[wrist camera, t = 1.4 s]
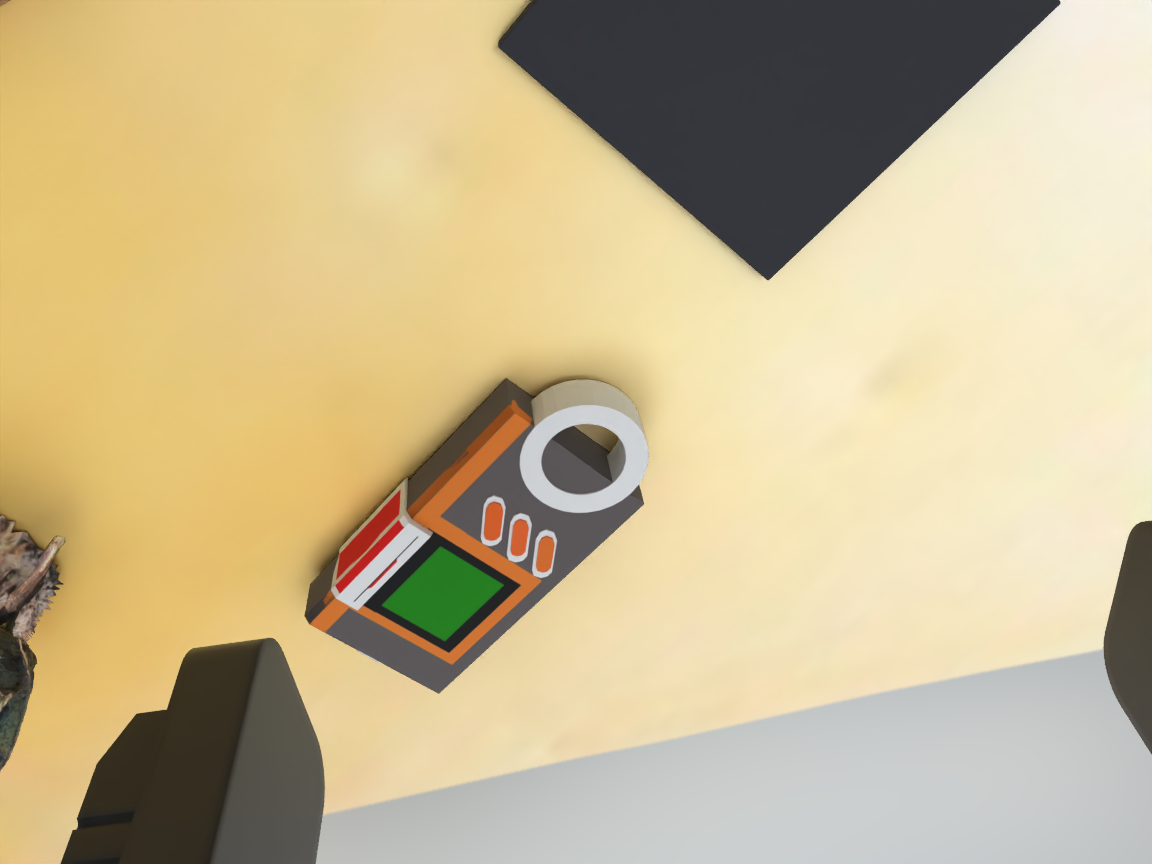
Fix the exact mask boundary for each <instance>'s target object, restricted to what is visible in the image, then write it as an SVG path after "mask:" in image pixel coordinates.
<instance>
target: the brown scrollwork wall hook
mask: <svg viewBox="0 0 1152 864" xmlns="http://www.w3.org/2000/svg"><path fill="white" fill-rule="evenodd" d="M8 1H10V0H0V6H1V5H3V4H4V3H6V2H8Z"/></svg>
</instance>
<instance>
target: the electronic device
mask: <svg viewBox="0 0 1152 864" xmlns="http://www.w3.org/2000/svg"><path fill="white" fill-rule="evenodd" d="M579 424H594V425H599V426H602V427H605V428H607V429H609V430H610V431H612V432H613V433H615V434H616V435H617V436H618V440H617V443H616V445H615V447H614V448H613V450H612V451H611V452H608V451H607V450H605V449H604V448H603V447H601V446H600V445H599V444H597V443H596V442H594V441H593V440H592V439H590V438H589V437H587V436H586V435H585V434H583V433H582V432H580V431H579V430H578V429H576V428H575V427H574V425H579ZM648 457H649V452H648V445H647V441H646V437H645V434H644V430H643V427H642V423H641V420H640V417H639V414H638V412H637V409H636V407H635V406H634V404H633V403H632V401H631V400H630V399H629V398H628V397H627V396H626V395H625V394H624V393H623V392H622V391H620V390H619V389H617V388H615V387H614V386H612V385H609V384H606V383H604V382H601V381H595V380H589V379H585V380H571V381H565V382H562V383H559V384H556V385H554V386H551V387H550V388H548V389H546V390H544V391H543V392H541V393H540V394H539V395H538V396H536V397H535V398H533V397H532V396H530V395H529V394H528V393H526V392H525V391H523V390H522V389H521V388H519V387H518V386H517V385H515V384H514V383H512V382H511V381H510V380H508V379H507V378H506V379H505V380H504V381H503V383H502V384H501V385H500V386H499V387H498V388H497V389H496V390H495V391H494V392H493V393H492V394H491V395H490V396H489V397H488V398H487V399H486V400H485V401H484V402H483V404H482V405H481V406H480V407H479V408H478V409H477V410H476V411H475V412H474V413H473V414H472V415H471V416H470V417H469V418H468V419H467V420H466V421H465V422H464V423H463V425H462V426H461V427H460V428H459V429H458V430H457V431H456V432H455V433H454V434H453V435H452V436H451V437H450V438H449V439H448V440H447V441H446V442H445V443H444V444H443V446H442V447H441V448H440V449H439V450H438V451H437V452H436V453H435V454H434V455H433V456H432V457H431V458H430V459H429V460H428V461H427V462H426V463H425V464H424V465H423V467H422V468H421V469H420V470H419V471H418V472H417V473H416V474H415V475H414V476H413V477H412V478H411V479H410V480H408V478H406V479H405V480H404V481H403V482H402V483H401V484H400V485H399V486H398V487H397V488H396V489H395V490H394V491H393V492H392V493H391V495H390V496H389V497H388V498H387V499H386V500H385V501H384V502H383V503H382V504H381V505H380V506H379V507H378V508H377V509H376V510H375V512H374V513H373V514H372V515H371V516H370V517H369V518H368V519H367V520H366V521H365V522H364V523H363V524H362V525H361V526H360V527H359V529H358V530H357V531H356V532H355V533H354V534H353V535H352V536H351V537H350V538H349V539H348V540H347V541H346V542H345V543H344V544H343V546H342V547H341V548H340V550H339V555H338V556H337V557H336V558H335V559H334V560H333V561H332V562H331V563H330V564H329V565H328V566H327V567H326V568H325V569H324V570H323V571H322V573H321V574H320V575H319V576H318V577H317V578H316V579H315V580H314V581H313V582H312V583H311V584H310V588H309V594H308V600H307V605H306V611H305V617H306V619H307V621H308V623H309V624H310V625H312V626H314V627H315V628H317V629H319V630H321V631H323V632H325V633H327V634H328V635H330V636H332V637H334V638H336V639H338V640H340V641H342V642H343V643H345V644H347V645H349V646H351V647H353V648H355V649H356V650H357V651H358V652H360V653H361V654H363V655H365V656H367V657H369V658H371V659H373V660H375V661H376V662H378V663H383V664H384V665H386V666H388V667H390V668H392V669H394V670H396V671H397V672H399V673H401V674H403V675H405V676H407V677H409V678H411V679H412V680H414V681H416V682H418V683H420V684H422V685H424V686H425V687H427V688H429V689H431V690H433V691H435V692H437V693H440V692H441V691H442V690H443V689H444V688H446V687H447V686H448V685H449V684H450V683H451V682H452V681H453V680H454V679H455V678H456V677H457V676H459V675H460V674H461V673H462V672H463V671H464V670H465V669H466V668H467V667H468V666H469V665H470V664H472V663H473V662H474V661H475V660H476V659H477V658H478V657H479V656H480V655H481V654H482V653H483V652H485V651H486V650H487V649H488V648H489V647H490V646H491V645H492V644H493V643H494V642H495V641H496V640H498V639H499V638H500V637H501V636H502V635H503V634H504V633H505V632H506V631H507V630H508V629H509V628H511V627H512V626H513V625H514V624H515V623H516V622H517V621H518V620H519V619H520V618H521V617H522V616H523V615H525V614H526V613H527V612H528V611H529V610H530V609H531V608H532V607H533V606H534V605H535V604H536V603H538V602H539V601H540V600H541V599H542V598H543V597H544V596H545V595H546V594H547V593H548V592H549V591H551V590H552V589H553V588H554V587H555V586H556V585H557V584H558V583H559V582H560V581H561V580H562V579H564V578H565V577H566V576H567V575H568V574H569V573H570V572H571V571H572V570H573V569H574V568H575V567H577V566H578V565H579V564H580V563H581V562H582V561H583V560H584V559H585V558H586V557H587V556H588V555H590V554H591V553H592V552H593V551H594V550H595V549H596V548H597V547H598V546H599V545H600V544H601V543H602V542H604V541H605V540H606V539H607V538H608V537H609V536H610V535H611V534H612V533H613V532H614V531H615V530H617V529H618V528H619V527H620V526H621V525H622V524H623V523H624V522H625V521H626V520H627V519H628V518H630V517H631V516H632V515H633V514H634V513H635V512H636V511H637V510H638V509H639V508H640V507H641V506H643V505H644V502H643V498H642V494H641V490H640V486H639V483H640V482H641V480H642V478H643V477H644V475H645V472H646V469H647V466H648Z"/></svg>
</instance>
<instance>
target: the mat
mask: <svg viewBox="0 0 1152 864" xmlns="http://www.w3.org/2000/svg"><path fill="white" fill-rule="evenodd" d="M1059 5H1060V1H1059V0H532V1H531V3H530V4H529V5H528V6H527V7H526V9H525V10H524V11H523V12H522V14H521V15H520V16H519V17H518V19H517V20H516V21H515V22H514V24H513V25H512V26H511V27H510V28H509V30H508V31H507V32H506V33H505V35H504V36H503V37H502V38H501V40H500V41H499V43H498V46H499V48H500V49H501V50H502V51H503V52H505V53H506V54H507V55H508V56H509V57H510V58H511V59H513V60H514V61H515V62H516V63H517V64H518V65H520V66H521V67H522V68H523V69H524V70H525V71H526V72H528V73H529V74H530V75H531V76H532V77H533V78H535V79H536V80H537V81H538V82H539V83H540V84H541V85H543V86H544V87H545V88H546V89H547V90H548V91H550V92H551V93H552V94H553V95H554V96H555V97H557V98H558V99H559V100H560V101H561V102H562V103H563V104H565V105H566V106H567V107H568V108H569V109H570V110H572V111H573V112H574V113H575V114H576V115H577V116H578V117H580V118H581V119H582V120H583V121H584V122H585V123H587V124H588V125H589V126H590V127H591V128H592V129H593V130H595V131H596V132H597V133H598V134H599V135H600V136H602V137H603V138H604V139H605V140H606V141H607V142H608V143H610V144H611V145H612V146H613V147H614V148H615V149H617V150H618V151H619V152H620V153H621V154H622V155H624V156H625V157H626V158H627V159H628V160H629V161H630V162H632V163H633V164H634V165H635V166H636V167H637V168H639V169H640V170H641V171H642V172H643V173H644V174H645V175H647V176H648V177H649V178H650V179H651V180H652V181H654V182H655V183H656V184H657V185H658V186H659V187H660V188H662V189H663V190H664V191H665V192H666V193H667V194H669V195H670V196H671V197H672V198H673V199H674V200H676V201H677V202H678V203H679V204H680V205H681V206H682V207H684V208H685V209H686V210H687V211H688V212H689V213H691V214H692V215H693V216H694V217H695V218H696V219H697V220H699V221H700V222H701V223H702V224H703V225H704V226H706V227H707V228H708V229H709V230H710V231H711V232H712V233H714V234H715V235H716V236H717V237H718V238H719V239H721V240H722V241H723V242H724V243H725V244H726V245H728V246H729V247H730V248H731V249H732V250H733V251H734V252H736V253H737V254H738V255H739V256H740V257H741V258H743V259H744V260H745V261H746V262H747V263H748V264H749V265H751V266H752V267H753V268H754V269H755V270H756V271H758V272H759V273H760V274H761V275H762V276H763V277H764V278H766V279H767V280H770V279H771V278H772V277H773V276H774V275H775V274H776V273H777V272H778V271H779V270H780V269H781V268H782V267H783V266H784V265H785V264H786V263H787V262H789V261H790V260H791V259H792V258H793V257H794V256H795V255H796V254H797V253H798V252H799V251H800V250H801V249H802V248H803V247H804V246H805V245H806V244H807V243H809V242H810V241H811V240H812V239H813V238H814V237H815V236H816V235H817V234H818V233H819V232H820V231H821V230H822V229H823V228H824V227H825V226H826V225H828V224H829V223H830V222H831V221H832V220H833V219H834V218H835V217H836V216H837V215H838V214H839V213H840V212H841V211H842V210H843V209H844V208H845V207H847V206H848V205H849V204H850V203H851V202H852V201H853V200H854V199H855V198H856V197H857V196H858V195H859V194H860V193H861V192H862V191H863V190H864V189H866V188H867V187H868V186H869V185H870V184H871V183H872V182H873V181H874V180H875V179H876V178H877V177H878V176H879V175H880V174H881V173H882V172H883V171H884V170H886V169H887V168H888V167H889V166H890V165H891V164H892V163H893V162H894V161H895V160H896V159H897V158H898V157H899V156H900V155H901V154H902V153H903V152H905V151H906V150H907V149H908V148H909V147H910V146H911V145H912V144H913V143H914V142H915V141H916V140H917V139H918V138H919V137H920V136H921V135H922V134H924V133H925V132H926V131H927V130H928V129H929V128H930V127H931V126H932V125H933V124H934V123H935V122H936V121H937V120H938V119H939V118H940V117H941V116H943V115H944V114H945V113H946V112H947V111H948V110H949V109H950V108H951V107H952V106H953V105H954V104H955V103H956V102H957V101H958V100H959V99H960V98H961V97H963V96H964V95H965V94H966V93H967V92H968V91H969V90H970V89H971V88H972V87H973V86H974V85H975V84H976V83H977V82H978V81H979V80H980V79H982V78H983V77H984V76H985V75H986V74H987V73H988V72H989V71H990V70H991V69H992V68H993V67H994V66H995V65H996V64H997V63H998V62H999V61H1001V60H1002V59H1003V58H1004V57H1005V56H1006V55H1007V54H1008V53H1009V52H1010V51H1011V50H1012V49H1013V48H1014V47H1015V46H1016V45H1017V44H1018V43H1020V42H1021V41H1022V40H1023V39H1024V38H1025V37H1026V36H1027V35H1028V34H1029V33H1030V32H1031V31H1032V30H1033V29H1034V28H1035V27H1036V26H1037V25H1039V24H1040V23H1041V22H1042V21H1043V20H1044V19H1045V18H1046V17H1047V16H1048V15H1049V14H1050V13H1051V12H1052V11H1053V10H1054V9H1055V8H1056V7H1057V6H1059Z"/></svg>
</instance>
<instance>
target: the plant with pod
mask: <svg viewBox="0 0 1152 864" xmlns="http://www.w3.org/2000/svg"><path fill="white" fill-rule="evenodd" d="M15 522H16V521H6V519H5V516H4V515H3V516H0V771H1V769H2V768H3V767H4V765H5V764H6V762H7V761H8V759H9V758H10V755H11V753H12V751H13V748H14V746H15V743H16V740H17V738H18V735H19V731H20V727H21V724H22V722H23V718H24V715H25V712H26V709H27V704H28V700H29V697H30V694H31V692H32V688H33V680H34V672H33V668H34V667H35V665H36V664H37V659H36V656H35V654H34V653H33V652H32V650H31V649H30V648H29V645H28V644H27V642H26V641H28V640H29V637H28V635H29V636H31V635H30V634H32V632H31V631H33V632H34V633H35V631H34V628H35V627H36V623H35V622H34V621H39V620H38V619H37V617H36V616H42V612H43V609H50V608H49V607H48V605H47V604H50V602H51V601H50V600H49V599H47V597H51V596H55V595H56V594H55V592H54V590H58V589H59V588H58V587H56V586H54V585H57V584H63V583H61V582H60V581H59V580H58V577H59V573H58V572H57V571H55V570H54V569H55V568H56V567H57V566H58V565H54V564H51V563H52V561H53V559H54V557H55V555H56V553H57V552H58V551H59V549H60V547H61V546H62V545H63V544H64V543H65V538H63V537H60V536H56V537H54V538H53V539H52V541H51V542H50V543H49V545H48V546H47V548H46V550H45V551H42V550H39V549H38V548H37V546H36V544H35V543H34V542H33V541H32V540H31V539H30V537H29V535H28V533H27V532H16V533H11V531H12V529H13V527H14V524H15ZM51 603H53V602H51ZM27 634H28V635H27ZM32 635H33V634H32Z"/></svg>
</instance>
